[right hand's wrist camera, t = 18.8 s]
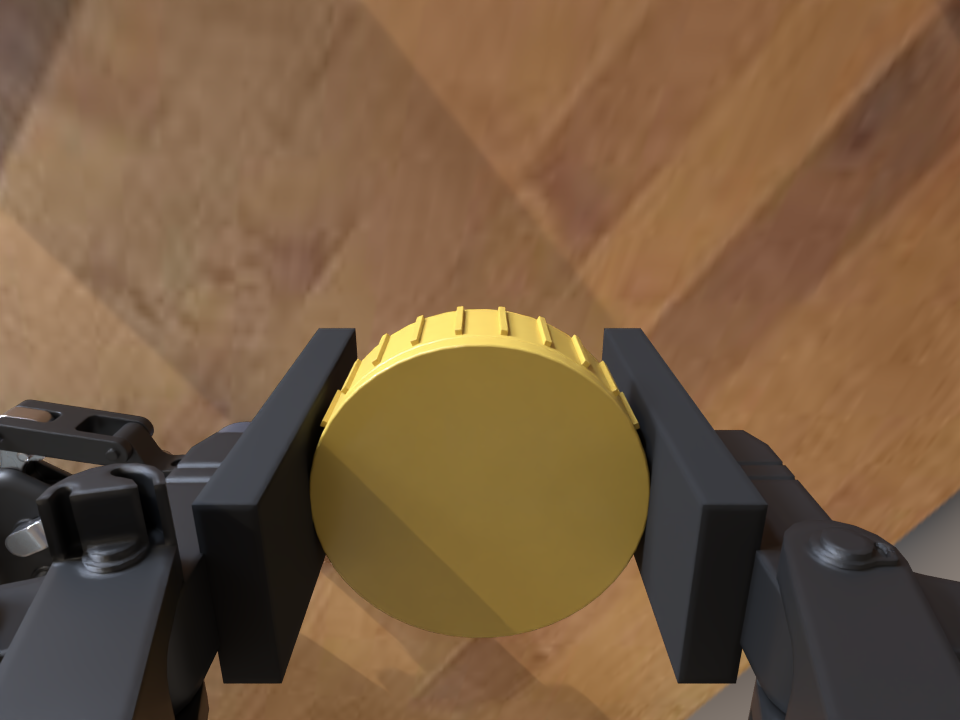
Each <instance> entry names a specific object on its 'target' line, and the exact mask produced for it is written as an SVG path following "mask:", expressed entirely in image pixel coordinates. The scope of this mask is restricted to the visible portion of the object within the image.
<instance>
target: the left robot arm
mask: <svg viewBox="0 0 960 720" xmlns="http://www.w3.org/2000/svg"><path fill="white" fill-rule="evenodd" d="M153 433H154V428H153V425H152V423H151V422H150V421H149V420H148V419H146V418H144V417H140V416H134V415H127V414H121V413H114V412H108V411H101V410H95V409H88V408H82V407H75V406H69V405H62V404H56V403H49V402H43V401H36V400H25V401H23V402H22V403H20V404H18V405H17V406H15V407H13V408H11V409H10V410H8V411H7V412H5V413H4V414H2V415H1V416H0V464H1V465H0V585H3V584H8V583H13V582H18V581H23V580H28V579H33V578H37V577H41V576H45V575H46V574H47V572H48V570H49V568H50V567H51V565H52V563H53V562H52V558H51V554H50V551H49V547H48V544H47V540H46V536H45V533H44V529H43V526H42V522H41V518H40V515H39V511H38V508H37V504H36V499H37V498H38V497H39V496H40V495H42V494H43V493H44V492H45V491H46V490H47V489H48V488H49V487H51V486H52V485H54V484H56V483H58V482H59V481H61V480H63V479H65V478H66V477H68V476H71V475H72V474H70V473H68V472H66V471H64V470H62V469H60V468H58V467H56V466H53V465H51V464H49V463H47V462H45V461H43V460H42V459H44V458H45V457H51V458H58V459H65V460H71V461H78V462H85V463H92V464H98V465H105V466H106V465H111V464H117V463H141V464H146V465H151V466H155V467H156V468H157V469H159V470H160V471H161V472H163V473H164V476H165V479H166V477H167V476H168V475H169V474H170V473H171V471H172V470H173V469H174V468H177V466H178V465H177V464H178V463H179V462H180V461H181V460H182V458H183V457H184V456H185V455H172V454H171V453H170V452H168V451H164V450H161V449H160V448H159V447H158V445H157V444H156V442H155V441H154V440H153V438H152V437H151V436H152V435H153Z"/></svg>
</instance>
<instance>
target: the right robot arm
mask: <svg viewBox="0 0 960 720" xmlns="http://www.w3.org/2000/svg"><path fill="white" fill-rule="evenodd" d="M356 360H357V346H356V331H355V328H319V329H318V330H317V332H316V333H315V335H314V336H313V337H312V339H311V340H310V341H309V343H308V344H307V346H306V347H305V348H304V350H303V351H302V353H301V354H300V355H299V357H298V358H297V359H296V361H295V362H294V364H293V365H292V366H291V368H290V369H289V370H288V372H287V373H286V375H285V376H284V377H283V379H282V380H281V382H280V383H279V384H278V386H277V387H276V388H275V390H274V391H273V393H272V394H271V395H270V397H269V398H268V400H267V401H266V402H265V404H264V405H263V406H262V408H261V409H260V411H259V412H258V413H257V415H256V416H255V417H254V419H253V420H252V422H251V423H250V424H249V426H248V427H247V429H246V430H245V431H244V432H217V433H215V434H213V435H212V436H210V437H208V438H207V439H205V440H203V441H202V442H200V443H198V444H196V445H195V446H193V447H192V448H191V449H190V450H189V451H188V453H187V454H186V455H185V456H184V457H183V458H182V460H181V461H180V462H179V463H178V464H177V465H178V466H177V468H174V469H173V470H172V471H171V473H170V474H169V475H168V476H167V477H166V479H165V476H164V473H163V472H161V471H160V470H159V469H157V468H156V467H155V466H151V465H146V464H141V463H117V464H111V465H106V466H101V467H95V468H91V469H88V470H85V471H82V472H80V473H77V474H74V475H71V476H68V477H66V478H65V479H63V480H61V481H59V482H58V483H56V484H54V485H52V486H51V487H49V488H48V489H47V490H46V491H45V492H44V493H43V494H42V495H40V496H39V497H38V498H37V499H36V504H37V508H38V511H39V515H40V518H41V522H42V526H43V529H44V533H45V536H46V540H47V544H48V547H49V551H50V554H51V558H52V562H53V563H52V565H51V567H50V568H49V570H48V572H47V574H46V575H45V576H41V577H37V578H33V579H28V580H23V581H18V582H13V583H8V584H3V585H0V720H208V712H209V706H208V698H207V692H206V687H205V682H204V678H205V676H206V674H207V672H208V670H209V668H210V666H211V663H212V661H213V659H214V657H215V655H216V653H217V651H218V655H219V661H220V666H221V672H222V677H223V683H282V681H283V678H284V675H285V672H286V669H287V666H288V663H289V660H290V657H291V654H292V652H293V649H294V646H295V643H296V640H297V637H298V634H299V631H300V628H301V625H302V622H303V619H304V617H305V614H306V611H307V608H308V605H309V602H310V599H311V596H312V593H313V590H314V587H315V585H316V582H317V579H318V576H319V573H320V570H321V567H322V564H323V561H324V558H325V555H326V553H325V552H324V550H323V548H322V545H321V543H320V541H319V538H318V536H317V534H316V530H315V526H314V523H313V519H312V511H311V501H310V489H309V482H310V472H311V467H312V461H313V456H314V453H315V451H316V448H317V445H318V442H319V440H320V437H321V435H322V433H323V431H324V429H325V428H324V427H322V426H320V425H321V423H322V420H323V418H324V416H325V414H326V412H327V410H328V408H329V406H330V404H331V402H332V400H333V398H334V396H335V394H336V392H337V390H340V391H341V390H342V387H343V385H344V383H345V381H346V379H347V377H348V375H349V373H350V371H351V369H352V367H353V365H354V363H355V362H356ZM602 361H604V362H605V363H606V365H607V367H608V369H609V371H610V373H611V375H612V377H613V379H614V381H615V383H616V385H617V387H618V389H619V391H620V392H623V393H624V395H625V397H626V399H627V401H628V403H629V405H630V407H631V409H632V411H633V413H634V415H635V417H636V419H637V421H638V423H639V426H640V428H639V429H637V430H636V431H637V433H638V435H639V438H640V440H641V443H642V446H643V448H644V451H645V454H646V458H647V463H648V468H649V473H650V496H649V506H648V515H647V521H646V525H645V529H644V532H643V535H642V537H641V540H640V542H639V544H638V547H637V549H636V551H635V553H634V557H635V560H636V562H637V565H638V568H639V571H640V574H641V577H642V580H643V583H644V586H645V589H646V592H647V595H648V597H649V600H650V603H651V606H652V609H653V612H654V615H655V618H656V621H657V624H658V627H659V630H660V632H661V635H662V638H663V641H664V644H665V647H666V650H667V653H668V656H669V659H670V662H671V665H672V667H673V670H674V673H675V676H676V679H677V682H678V683H736V680H737V675H738V669H739V664H740V658H741V653H742V649H743V651H744V653H745V655H746V657H747V659H748V661H749V663H750V665H751V667H752V669H753V671H754V673H755V675H756V682H755V687H754V692H753V697H752V702H751V708H750V713H749V718H748V720H960V582H957V581H953V580H947V579H942V578H937V577H932V576H927V575H923V574H919V573H915V572H913V571H912V569H911V567H910V565H909V563H908V562H907V560H906V559H905V558H904V557H903V556H902V554H901V553H900V552H899V551H898V550H897V548H896V547H894V546H893V545H891V544H890V543H888V542H887V541H885V540H884V539H882V538H881V537H879V536H878V535H876V534H874V533H871V532H869V531H866V530H864V529H862V528H859V527H857V526H854V525H850V524H845V523H841V522H837V521H832V520H831V518H830V517H829V516H828V515H827V514H826V513H825V511H824V510H823V509H822V508H821V507H820V506H819V504H818V503H817V502H816V501H815V500H814V498H813V497H812V496H811V495H810V494H809V493H808V491H807V490H806V489H805V488H804V487H803V486H802V484H801V483H800V482H799V481H798V480H795V476H794V475H793V474H792V473H791V471H790V470H789V469H788V468H787V467H786V466H785V465H783V464H782V461H781V460H780V458H779V457H778V456H777V455H776V454H775V453H774V451H773V450H772V449H771V448H770V447H769V446H768V445H767V444H766V443H764V442H762V441H761V440H759V439H757V438H755V437H754V436H752V435H750V434H749V433H747V432H745V431H744V430H714V429H713V428H712V426H711V425H710V424H709V422H708V421H707V420H706V418H705V417H704V415H703V414H702V413H701V411H700V410H699V408H698V407H697V406H696V404H695V403H694V402H693V400H692V399H691V397H690V396H689V395H688V393H687V392H686V390H685V389H684V388H683V386H682V385H681V384H680V382H679V381H678V379H677V378H676V377H675V375H674V374H673V373H672V371H671V370H670V368H669V367H668V366H667V364H666V363H665V361H664V360H663V359H662V357H661V356H660V355H659V353H658V352H657V350H656V349H655V348H654V346H653V345H652V343H651V342H650V341H649V339H648V338H647V337H646V335H645V334H644V332H643V331H642V330H641V328H604V339H603V354H602Z"/></svg>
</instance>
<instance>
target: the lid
mask: <svg viewBox="0 0 960 720" xmlns="http://www.w3.org/2000/svg"><path fill="white" fill-rule="evenodd" d="M320 426H322V427H324V428H325V429H324V431H323V433H322V435H321V437H320V440H319V442H318V445H317V448H316V451H315V453H314V456H313V461H312V467H311V472H310V482H309V489H310V501H311V511H312V519H313V523H314V526H315V530H316V534H317V536H318V538H319V541H320V543H321V545H322V548H323V550H324V552H325V553H326V555H327V557H328V558H329V560H330V562H331V563H332V565H333V567H334V568H335V569H336V571H337V572H338V573H339V574H340V576H341V577H342V578H343V579H344V580H345V582H346V583H347V584H348V585H349V586H350V587H351V588H352V589H353V590H355V591H356V592H357V593H358V594H359V595H360V596H361V597H362V598H364V599H365V600H366V601H368V602H369V603H370V604H372V605H373V606H374V607H376V608H377V609H379V610H381V611H382V612H384V613H386V614H388V615H389V616H391V617H393V618H395V619H397V620H399V621H402V622H404V623H406V624H409V625H411V626H414V627H417V628H420V629H423V630H426V631H430V632H434V633H439V634H444V635H449V636H457V637H467V638H493V637H502V636H511V635H516V634H521V633H525V632H530V631H533V630H536V629H539V628H542V627H545V626H549V625H551V624H553V623H556V622H558V621H560V620H562V619H564V618H567V617H569V616H570V615H572V614H574V613H575V612H577V611H579V610H580V609H582V608H584V607H585V606H587V605H588V604H589V603H591V602H592V601H593V600H595V599H596V598H597V597H598V596H600V595H601V594H602V593H603V592H604V591H605V590H606V589H607V588H608V587H609V586H610V585H611V584H612V583H613V582H614V581H615V580H616V579H617V578H618V576H619V575H620V574H621V572H622V571H623V570H624V569H625V567H626V566H627V564H628V563H629V561H630V559H631V558H632V556H633V554H634V553H635V551H636V549H637V547H638V544H639V542H640V540H641V537H642V535H643V532H644V529H645V525H646V521H647V515H648V506H649V496H650V473H649V468H648V463H647V458H646V454H645V451H644V448H643V446H642V443H641V440H640V438H639V435H638V433H637V431H636V430H637V429H639V428H640V426H639V423H638V421H637V419H636V417H635V415H634V413H633V411H632V409H631V407H630V405H629V403H628V401H627V399H626V397H625V395H624V393H623V392H620V391H619V389H618V387H617V385H616V383H615V381H614V379H613V377H612V375H611V373H610V371H609V369H608V367H607V365H606V363H605V362H604V361H602V362H600V363H599V362H598V361H597V360H596V359H595V358H594V357H593V356H592V355H591V354H590V353H589V352H588V351H587V350H586V349H585V348H584V347H583V345H582V343H581V341H580V338H579V337H577V336H576V335H574V336H573V337H572V338H571V337H570V336H569V335H567V334H566V333H564V332H562V331H560V330H558V329H557V328H555V327H553V326H551V325H549V324H547V323H546V321H545V318H543V317H540V316H539V317H538V319H534V318H532V317H528V316H524V315H520V314H517V313H513V312H507V311H506V310H505V307H499V308H498V310H490V309H468V310H464V307H463V306H461V307H457V311H453V312H447V313H443V314H439V315H435V316H432V317H428V318H424V316H423V315H422V316H419V317H417V320H416V322H415V323H413V324H411V325H408V326H407V327H405V328H403V329H401V330H399V331H398V332H396V333H394V334H392V335H391V336H389V335H388V334H387V333H386V334H385V335H384V336H382V338H381V341H380V343H379V345H378V346H376V347H375V348H374V349H373V350H372V351H371V352H370V353H369V354H368V355H367V356H366V357H365V358H364V359H363V360H362V361H360V360H359V359H357V360H356V362H355V363H354V365H353V367H352V369H351V371H350V373H349V375H348V377H347V379H346V381H345V383H344V385H343V387H342V390H341V391H340V390H337V392H336V394H335V396H334V398H333V400H332V402H331V404H330V406H329V408H328V410H327V412H326V414H325V416H324V418H323V420H322V423H321V425H320Z"/></svg>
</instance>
